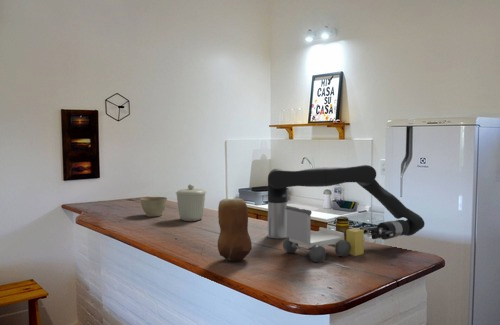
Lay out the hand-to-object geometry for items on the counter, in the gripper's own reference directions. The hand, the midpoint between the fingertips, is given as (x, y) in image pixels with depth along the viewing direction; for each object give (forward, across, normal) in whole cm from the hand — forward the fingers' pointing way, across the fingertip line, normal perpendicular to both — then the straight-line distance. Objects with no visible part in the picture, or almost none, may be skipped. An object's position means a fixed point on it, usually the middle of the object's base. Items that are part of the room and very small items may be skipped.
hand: (364, 234), depth 184 cm
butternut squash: (+52, -20, +7) cm, 57 cm away
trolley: (+20, -8, +7) cm, 22 cm away
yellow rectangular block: (+6, 0, +7) cm, 9 cm away
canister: (+30, -107, +7) cm, 111 cm away
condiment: (-2, -16, +8) cm, 18 cm away
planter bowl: (+43, -132, +7) cm, 139 cm away
